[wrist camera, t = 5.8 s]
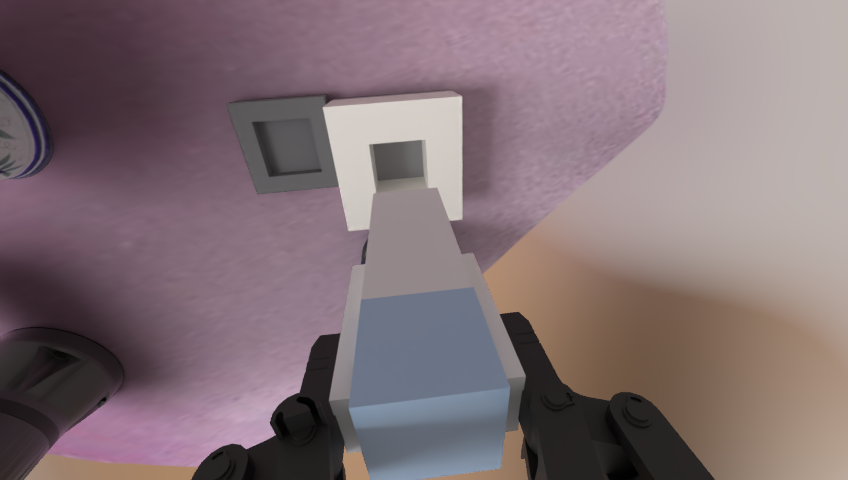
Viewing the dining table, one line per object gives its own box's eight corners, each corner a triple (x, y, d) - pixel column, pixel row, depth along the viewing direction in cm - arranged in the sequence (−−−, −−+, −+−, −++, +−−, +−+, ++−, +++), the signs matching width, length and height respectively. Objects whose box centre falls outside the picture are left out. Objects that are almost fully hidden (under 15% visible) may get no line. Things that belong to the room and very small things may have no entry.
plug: (381, 248, 22) (372, 486, 10) (373, 193, 20) (348, 408, 8) (439, 242, 22) (500, 468, 10) (437, 187, 20) (510, 387, 8)
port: (353, 207, 38) (348, 231, 33) (333, 99, 32) (322, 107, 27) (452, 198, 39) (462, 219, 34) (450, 89, 33) (462, 96, 28)
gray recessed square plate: (263, 187, 36) (257, 194, 34) (234, 101, 31) (226, 103, 30) (343, 180, 36) (341, 186, 35) (326, 94, 32) (323, 96, 30)
